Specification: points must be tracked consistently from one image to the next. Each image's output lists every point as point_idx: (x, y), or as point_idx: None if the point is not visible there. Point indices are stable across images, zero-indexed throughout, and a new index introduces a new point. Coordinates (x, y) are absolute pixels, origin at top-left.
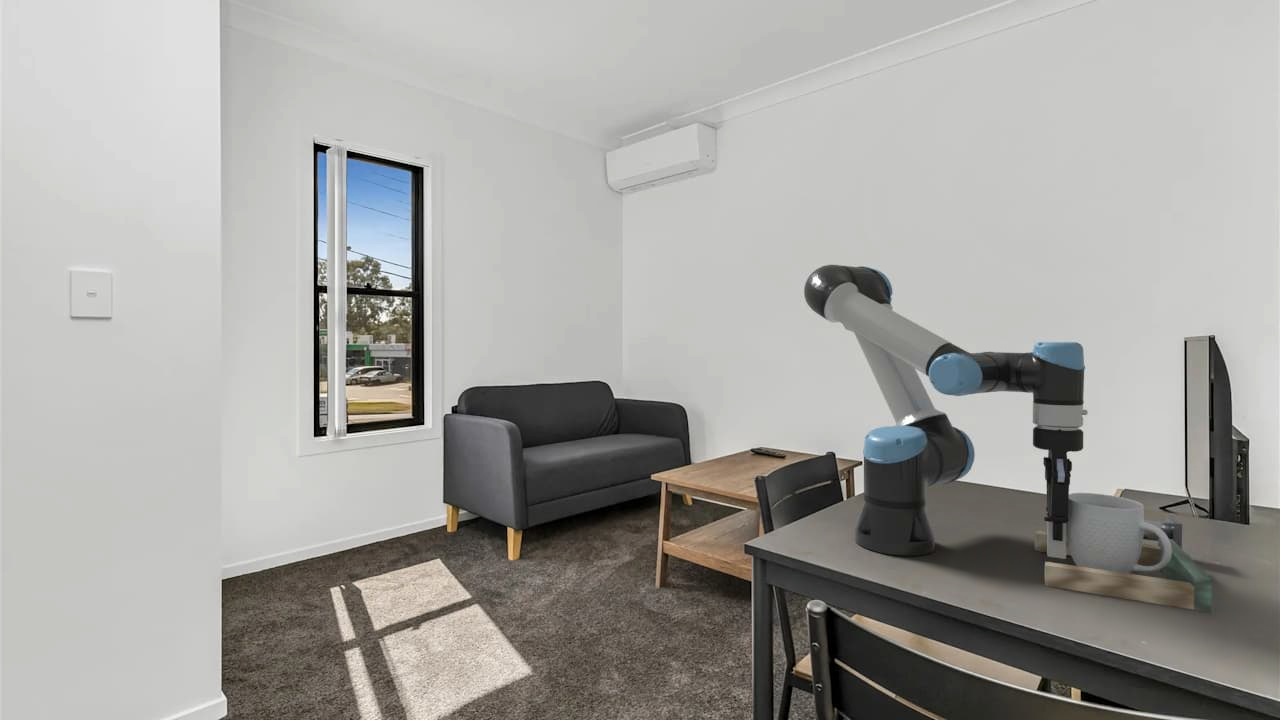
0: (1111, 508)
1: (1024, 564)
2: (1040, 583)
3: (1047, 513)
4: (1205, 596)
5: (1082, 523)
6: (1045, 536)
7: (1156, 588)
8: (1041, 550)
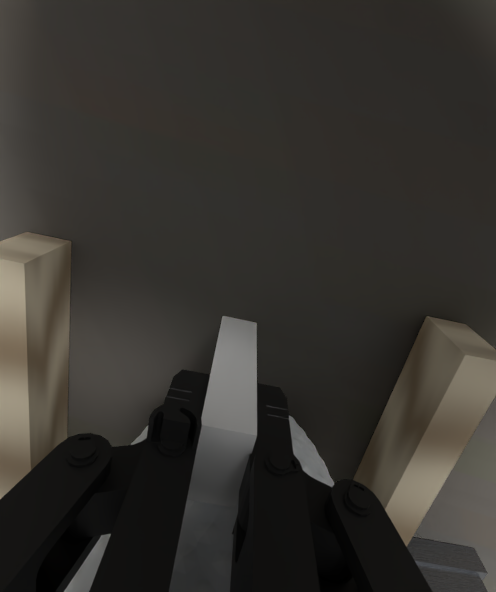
0: None
1: (247, 224)
2: (45, 221)
3: (274, 468)
4: None
5: None
6: (444, 380)
7: None
8: (421, 335)
